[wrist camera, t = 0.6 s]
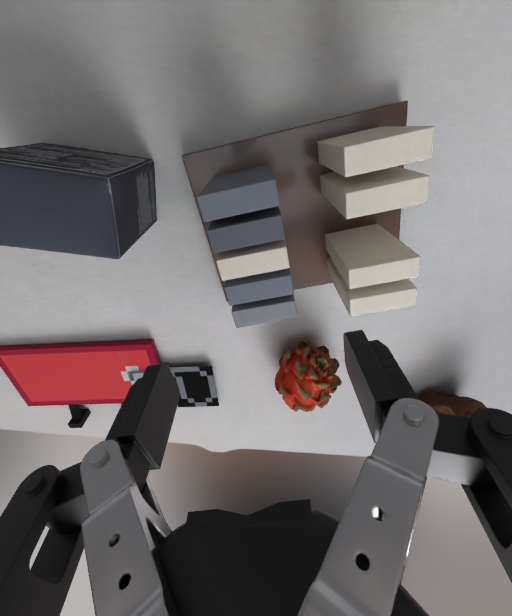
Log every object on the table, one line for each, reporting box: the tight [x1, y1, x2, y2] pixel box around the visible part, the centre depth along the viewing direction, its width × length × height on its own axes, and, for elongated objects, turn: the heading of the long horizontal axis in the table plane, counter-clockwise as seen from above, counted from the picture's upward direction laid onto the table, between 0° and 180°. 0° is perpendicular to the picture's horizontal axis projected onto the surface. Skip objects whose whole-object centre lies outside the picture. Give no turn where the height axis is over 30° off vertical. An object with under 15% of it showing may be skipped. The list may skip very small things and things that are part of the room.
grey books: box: [197, 164, 297, 328], centre depth 26 cm, size 11×6×9 cm, turn 12°
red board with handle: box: [0, 340, 219, 428], centre depth 42 cm, size 30×3×15 cm
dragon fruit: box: [275, 341, 341, 412], centre depth 39 cm, size 8×8×12 cm
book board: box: [182, 101, 408, 302], centre depth 30 cm, size 16×20×2 cm
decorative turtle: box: [421, 390, 486, 417], centre depth 44 cm, size 10×15×8 cm, turn 169°
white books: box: [317, 126, 435, 317], centre depth 25 cm, size 13×6×9 cm, turn 12°
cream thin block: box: [216, 239, 290, 281], centre depth 26 cm, size 2×6×9 cm, turn 102°
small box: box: [0, 143, 157, 259], centre depth 24 cm, size 11×6×10 cm, turn 82°
